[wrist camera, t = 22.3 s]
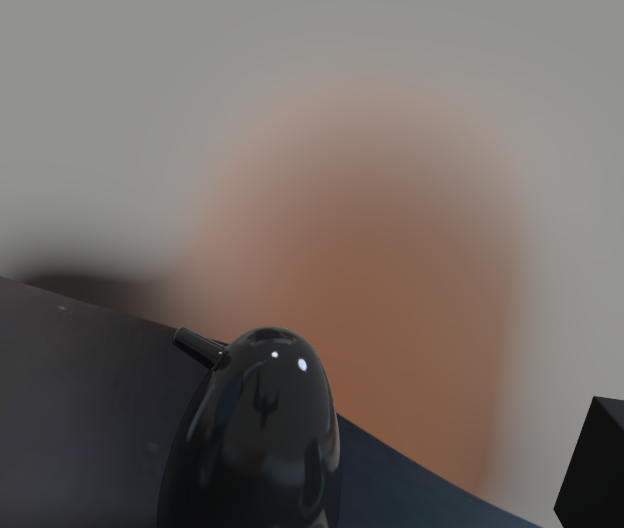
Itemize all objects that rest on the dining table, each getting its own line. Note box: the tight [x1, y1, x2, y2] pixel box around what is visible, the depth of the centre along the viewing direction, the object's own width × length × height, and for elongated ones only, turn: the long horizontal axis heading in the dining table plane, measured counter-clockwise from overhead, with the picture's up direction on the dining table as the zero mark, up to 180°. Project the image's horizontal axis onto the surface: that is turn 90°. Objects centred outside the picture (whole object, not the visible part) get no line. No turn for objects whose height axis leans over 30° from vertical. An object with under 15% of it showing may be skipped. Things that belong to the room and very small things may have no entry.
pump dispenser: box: [157, 326, 342, 528], centre depth 33 cm, size 10×10×15 cm
